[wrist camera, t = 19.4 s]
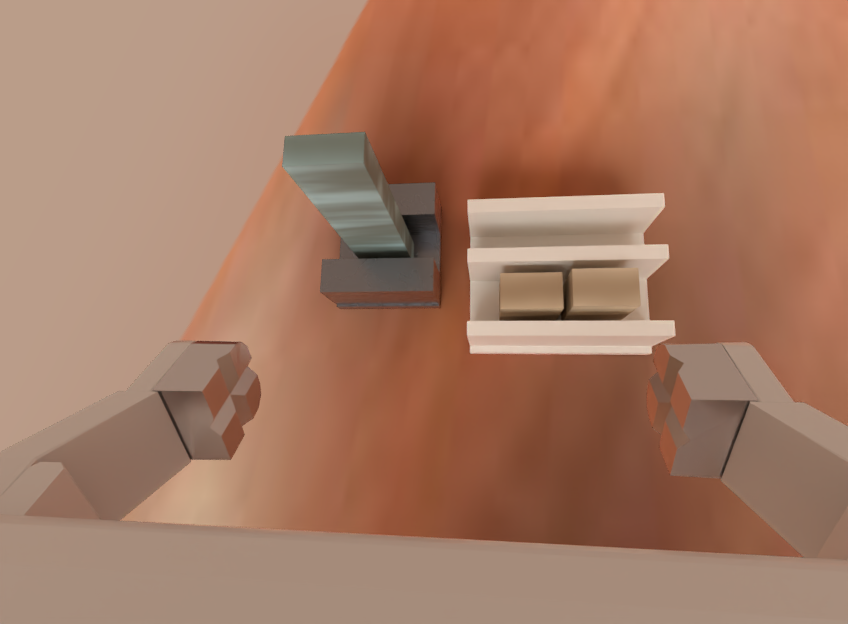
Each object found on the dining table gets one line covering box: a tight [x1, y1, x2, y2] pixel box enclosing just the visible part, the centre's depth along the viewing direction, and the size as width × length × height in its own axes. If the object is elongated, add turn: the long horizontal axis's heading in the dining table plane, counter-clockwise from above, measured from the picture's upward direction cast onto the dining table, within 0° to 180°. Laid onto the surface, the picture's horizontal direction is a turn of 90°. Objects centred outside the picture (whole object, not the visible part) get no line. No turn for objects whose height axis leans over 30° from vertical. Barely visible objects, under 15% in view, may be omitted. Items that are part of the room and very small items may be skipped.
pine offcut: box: [561, 268, 641, 321], centre depth 43 cm, size 3×5×7 cm, turn 89°
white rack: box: [467, 193, 675, 355], centre depth 44 cm, size 13×16×7 cm
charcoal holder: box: [320, 183, 442, 309], centre depth 48 cm, size 10×10×6 cm
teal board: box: [282, 132, 414, 259], centre depth 40 cm, size 2×5×20 cm, turn 89°
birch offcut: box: [499, 272, 564, 321], centre depth 44 cm, size 3×5×6 cm, turn 89°
